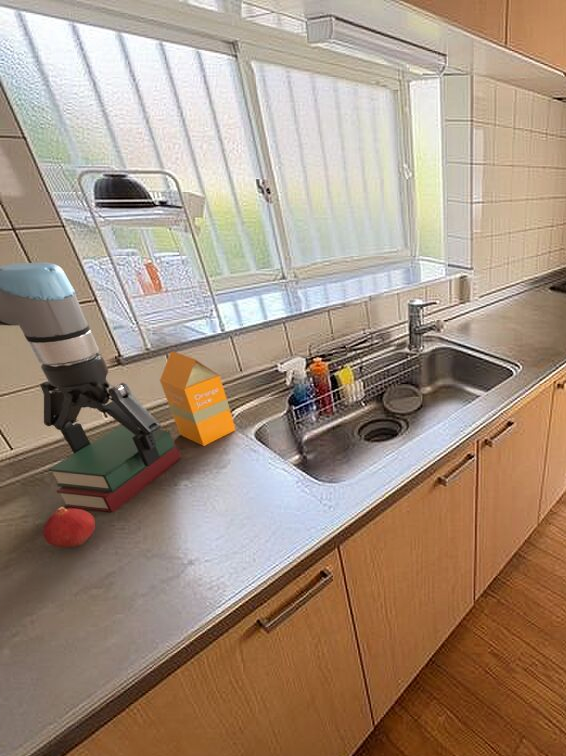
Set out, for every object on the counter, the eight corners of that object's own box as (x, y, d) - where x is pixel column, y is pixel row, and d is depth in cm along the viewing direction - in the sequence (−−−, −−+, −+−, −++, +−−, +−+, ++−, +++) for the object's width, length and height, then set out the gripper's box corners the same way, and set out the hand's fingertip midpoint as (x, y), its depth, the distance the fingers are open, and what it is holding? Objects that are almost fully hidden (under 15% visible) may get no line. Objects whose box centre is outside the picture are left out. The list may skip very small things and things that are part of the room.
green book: (57, 486, 75) (47, 469, 74) (127, 441, 88) (120, 425, 86) (113, 492, 75) (104, 474, 73) (175, 446, 87) (169, 430, 86)
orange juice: (203, 446, 94) (175, 366, 85) (179, 435, 97) (150, 356, 88) (236, 429, 101) (214, 353, 91) (212, 419, 104) (189, 344, 95)
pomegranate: (47, 563, 66) (23, 526, 62) (64, 536, 71) (42, 500, 67) (95, 552, 68) (74, 516, 65) (108, 527, 73) (89, 492, 69)
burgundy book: (65, 507, 76) (56, 490, 74) (141, 454, 91) (135, 439, 89) (112, 512, 76) (103, 495, 74) (181, 458, 90) (175, 443, 88)
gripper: (159, 354, 74) (195, 452, 83) (26, 344, 75) (77, 441, 85) (120, 373, 67) (164, 477, 77) (-25, 361, 68) (37, 465, 78)
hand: (119, 458), depth 81 cm, fingers open, 13 cm apart
